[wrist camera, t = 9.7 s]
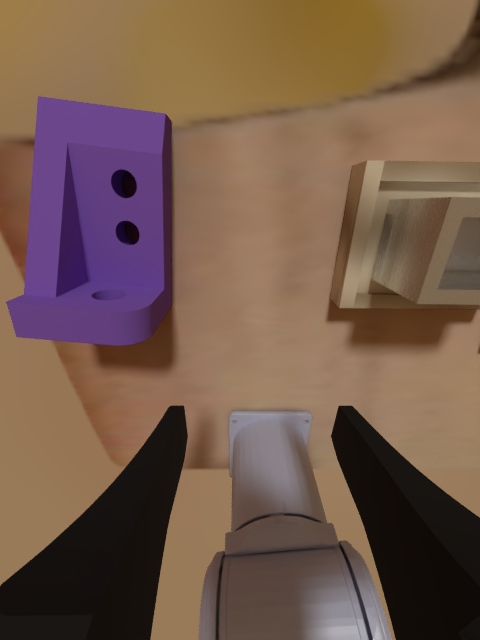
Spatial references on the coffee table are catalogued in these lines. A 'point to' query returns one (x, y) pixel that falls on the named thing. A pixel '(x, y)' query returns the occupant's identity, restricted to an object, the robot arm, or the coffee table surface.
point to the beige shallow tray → (368, 218)
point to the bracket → (97, 226)
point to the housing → (431, 250)
